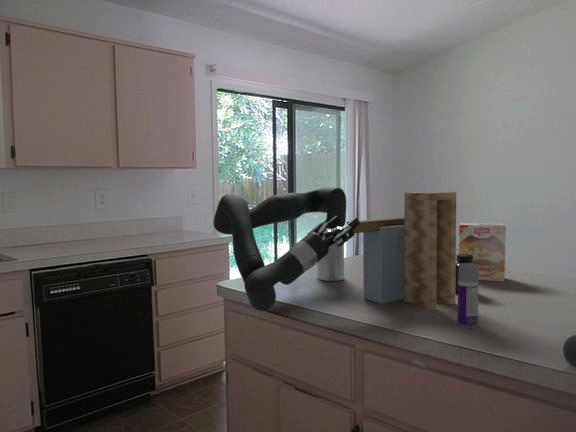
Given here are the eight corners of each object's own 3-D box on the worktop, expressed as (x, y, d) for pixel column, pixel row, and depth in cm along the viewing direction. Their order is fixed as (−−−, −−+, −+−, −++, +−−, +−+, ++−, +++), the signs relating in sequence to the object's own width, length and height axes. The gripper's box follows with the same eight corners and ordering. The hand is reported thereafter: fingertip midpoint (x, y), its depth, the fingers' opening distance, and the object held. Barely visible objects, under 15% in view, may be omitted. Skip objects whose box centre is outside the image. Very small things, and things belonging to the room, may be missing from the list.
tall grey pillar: (363, 297, 139) (363, 225, 137) (387, 293, 144) (387, 223, 142) (381, 303, 132) (381, 227, 130) (406, 298, 137) (406, 225, 135)
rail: (346, 232, 131) (346, 221, 131) (406, 226, 143) (406, 216, 143) (354, 233, 128) (354, 222, 128) (414, 227, 140) (414, 217, 140)
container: (454, 322, 114) (454, 263, 113) (472, 321, 114) (473, 262, 113) (462, 328, 109) (463, 266, 108) (481, 327, 110) (482, 266, 108)
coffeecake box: (458, 279, 161) (458, 224, 160) (458, 275, 168) (459, 222, 166) (505, 282, 156) (506, 225, 154) (503, 277, 162) (504, 223, 161)
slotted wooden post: (404, 301, 134) (404, 192, 131) (428, 296, 139) (428, 191, 136) (431, 309, 125) (431, 193, 123) (455, 303, 130) (456, 192, 128)
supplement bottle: (475, 291, 144) (476, 253, 143) (477, 296, 137) (477, 257, 136) (452, 289, 146) (453, 253, 145) (453, 295, 140) (453, 256, 139)
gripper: (298, 260, 129) (338, 228, 135) (328, 268, 116) (370, 232, 123) (287, 238, 126) (327, 207, 133) (316, 244, 114) (359, 209, 120)
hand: (348, 219), depth 128 cm, fingers open, 8 cm apart
